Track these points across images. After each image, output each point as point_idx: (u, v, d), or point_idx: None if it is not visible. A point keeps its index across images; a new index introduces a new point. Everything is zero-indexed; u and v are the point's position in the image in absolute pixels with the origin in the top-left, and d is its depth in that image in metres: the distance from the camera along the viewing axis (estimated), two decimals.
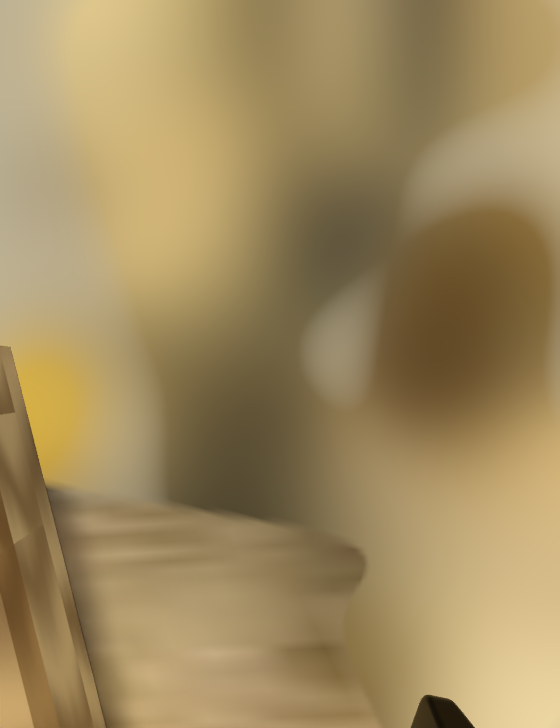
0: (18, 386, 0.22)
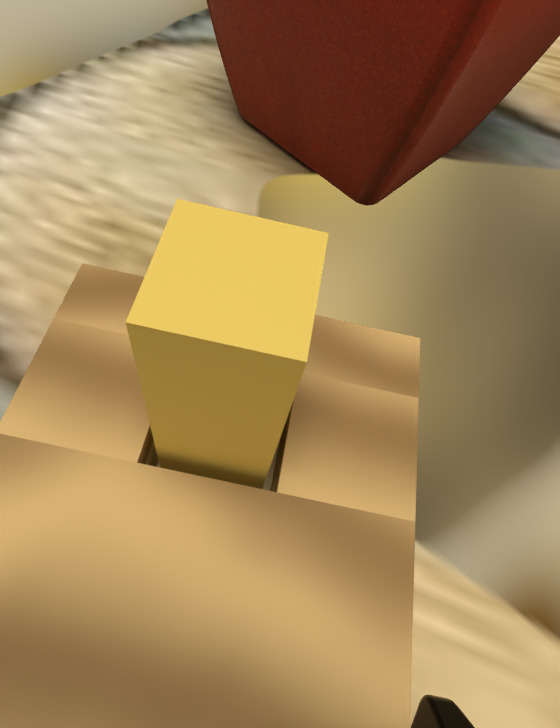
0: None
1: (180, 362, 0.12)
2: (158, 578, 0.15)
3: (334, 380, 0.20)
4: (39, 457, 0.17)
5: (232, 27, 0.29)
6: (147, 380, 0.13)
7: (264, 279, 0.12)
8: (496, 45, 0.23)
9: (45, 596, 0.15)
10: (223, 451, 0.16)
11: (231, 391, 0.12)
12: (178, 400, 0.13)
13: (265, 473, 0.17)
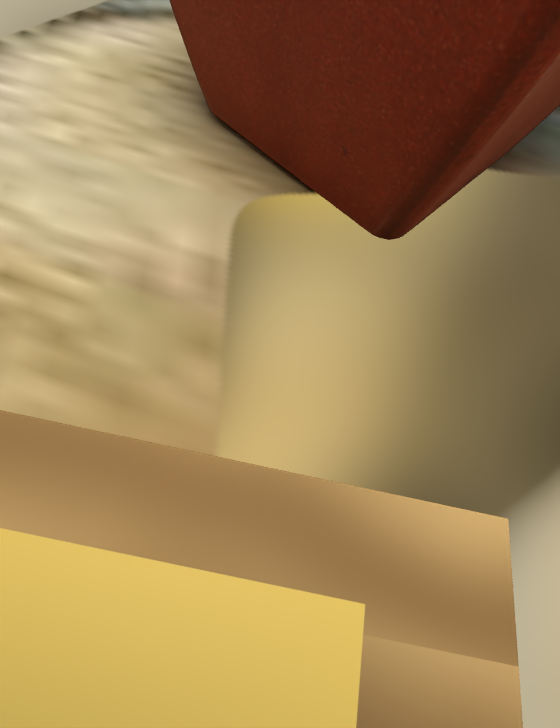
0: None
1: None
2: None
3: None
4: None
5: None
6: None
7: None
8: None
9: None
10: None
11: None
12: None
13: None
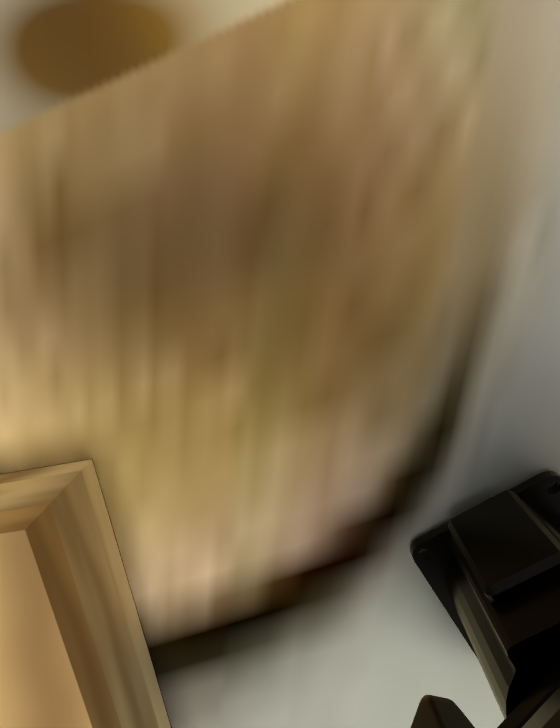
0: None
1: None
2: None
3: None
4: None
5: None
6: None
7: None
8: None
9: None
10: None
11: None
12: None
13: None
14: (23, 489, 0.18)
